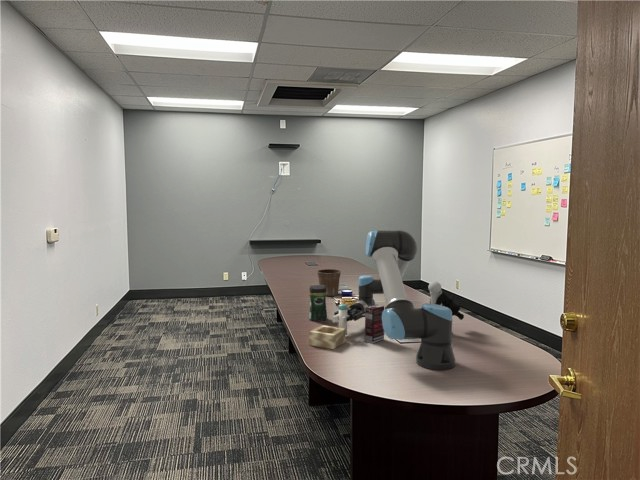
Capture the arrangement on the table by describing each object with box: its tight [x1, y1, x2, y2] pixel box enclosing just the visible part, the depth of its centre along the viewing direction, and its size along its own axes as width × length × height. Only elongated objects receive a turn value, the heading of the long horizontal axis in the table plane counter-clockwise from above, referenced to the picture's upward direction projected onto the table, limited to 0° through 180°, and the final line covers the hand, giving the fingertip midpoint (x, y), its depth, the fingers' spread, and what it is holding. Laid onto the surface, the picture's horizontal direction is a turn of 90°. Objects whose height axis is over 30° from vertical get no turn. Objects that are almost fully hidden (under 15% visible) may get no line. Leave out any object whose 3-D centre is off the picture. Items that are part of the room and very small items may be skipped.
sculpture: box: [427, 281, 465, 321], centre depth 228 cm, size 15×24×25 cm, turn 110°
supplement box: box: [364, 304, 385, 344], centre depth 213 cm, size 9×5×16 cm, turn 134°
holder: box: [308, 324, 346, 350], centre depth 209 cm, size 12×12×6 cm
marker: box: [338, 303, 348, 336], centre depth 218 cm, size 4×4×14 cm
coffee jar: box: [308, 284, 328, 322], centre depth 249 cm, size 10×8×19 cm
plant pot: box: [316, 268, 342, 297], centre depth 311 cm, size 16×16×16 cm
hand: (338, 320), depth 213 cm, fingers closed on marker, 4 cm apart
